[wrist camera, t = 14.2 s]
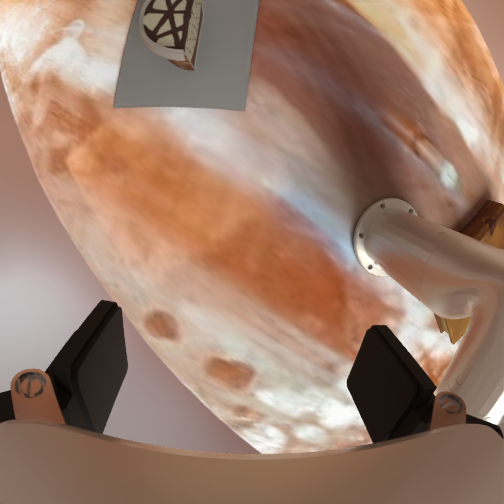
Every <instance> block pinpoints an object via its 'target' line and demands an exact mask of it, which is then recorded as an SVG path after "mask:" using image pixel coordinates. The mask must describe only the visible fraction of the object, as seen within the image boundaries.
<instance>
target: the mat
mask: <svg viewBox="0 0 504 504" xmlns="http://www.w3.org/2000/svg"><path fill="white" fill-rule="evenodd" d="M145 1H146V0H138V2H137V5H136V8H135V12H134V15H133V18H132V22H131V26H130V29H129V33H128V37H127V41H126V45H125V49H124V54H123V58H122V63H121V68H120V73H119V78H118V84H117V90H116V96H115V103H114V108H132V107H193V108H213V109H226V110H238V111H245V107H246V98H247V90H248V82H249V74H250V66H251V58H252V50H253V43H254V35H255V28H256V21H257V14H258V7H259V0H203V9H204V19H203V24H202V30H201V35H200V41H199V47H198V53H197V60H196V66H195V71H193V70H185V69H182V68H179V67H177V66H175V65H174V64H172V63H171V62H170V61H169V60H168V59H167V58H164V57H161V56H159V55H157V54H155V53H154V52H152V51H151V50H150V49H149V48H148V47H147V46H146V45H145V44H144V42H143V40H142V38H141V34H140V30H139V16H140V12H141V9H142V7H143V5H144V3H145Z"/></svg>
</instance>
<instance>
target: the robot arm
mask: <svg viewBox="0 0 504 504" xmlns="http://www.w3.org/2000/svg"><path fill="white" fill-rule="evenodd" d="M380 205H381V206H380ZM359 234H360V235H359ZM353 244H354V252H355V255H356V258H357V260H358V262H359V263H360V265H361V266H362V267H363V268H364V269H365V270H366V271H367V272H369V273H371V274H372V275H375V276H379V277H388V276H390V277H391V278H392V279H394V280H395V281H396V282H397V283H399V284H400V285H401V286H402V287H403V288H405V289H406V290H407V291H408V292H410V293H411V294H412V295H413V296H414V297H416V298H417V299H418V300H419V301H420V302H422V303H423V304H424V305H425V306H426V307H427V308H429V309H430V310H431V311H432V312H434V313H435V314H436V315H438V316H440V317H442V318H446V319H461V318H466V317H469V316H471V319H470V322H469V325H468V327H467V329H466V332H465V335H464V337H463V339H462V341H461V343H460V345H459V347H458V349H457V351H456V353H455V355H454V357H453V359H452V360H451V362H450V364H449V366H448V368H447V370H446V371H445V373H444V375H443V377H442V379H441V381H440V383H439V385H438V387H436V386H435V384H434V383H433V382H432V381H431V379H430V378H429V377H428V375H427V374H426V373H425V372H424V370H423V369H422V368H421V367H420V365H419V364H418V363H417V362H416V360H415V359H414V358H413V357H412V355H411V354H410V353H409V352H408V351H407V349H406V348H405V347H404V346H403V344H402V343H401V342H400V341H399V340H398V338H397V337H396V336H395V335H394V334H393V332H392V331H391V330H390V329H389V328H388V327H387V326H386V325H373V326H372V327H371V328H370V329H368V330H367V331H366V334H365V337H364V339H363V342H362V344H361V347H360V350H359V352H358V355H357V357H356V360H355V362H354V364H353V367H352V369H351V372H350V374H349V376H348V379H347V387H348V390H349V392H350V394H351V396H352V398H353V400H354V402H355V405H356V407H357V409H358V411H359V413H360V415H361V418H362V420H363V422H364V424H365V426H366V428H367V431H368V433H369V435H370V437H371V439H372V442H373V444H368V445H362V446H356V447H350V448H343V449H335V450H327V451H317V452H306V453H290V454H228V453H213V452H201V451H190V450H183V449H175V448H169V447H162V446H156V445H151V444H145V443H140V442H135V441H129V440H125V439H121V438H116V437H112V436H108V435H104V434H103V431H104V428H105V426H106V423H107V420H108V418H109V415H110V413H111V410H112V407H113V404H114V402H115V400H116V397H117V395H118V392H119V390H120V387H121V385H122V382H123V380H124V378H125V375H126V373H127V369H128V361H127V355H126V346H125V337H124V328H123V317H122V309H121V307H118V305H117V303H116V302H111V301H105V300H101V301H100V302H99V303H98V305H97V306H96V307H95V308H94V310H93V311H92V312H91V313H90V315H89V316H88V317H87V318H86V320H85V321H84V322H83V323H82V325H81V326H80V327H79V329H78V330H76V331H75V332H74V333H73V335H72V336H71V337H70V339H69V340H68V341H67V343H66V344H65V345H64V347H63V348H62V349H61V350H60V352H59V353H58V355H57V356H56V357H55V359H54V360H53V361H52V363H51V364H50V366H49V367H48V368H47V370H46V371H45V372H44V371H41V370H39V369H26V370H23V371H21V372H19V373H17V374H16V375H15V376H14V378H13V379H12V382H11V390H9V391H6V392H2V393H0V504H504V250H503V249H500V248H497V247H494V246H491V245H489V244H486V243H484V242H481V241H478V240H476V239H474V238H471V237H469V236H467V235H464V234H461V233H459V232H456V231H454V230H452V229H449V228H447V227H444V226H442V225H439V224H437V223H434V222H432V221H429V220H426V219H424V218H421V217H418V214H417V212H416V211H415V209H414V208H413V207H412V206H411V205H410V204H409V203H407V202H405V201H403V200H401V199H397V198H384V199H381V200H378V201H376V202H375V203H373V204H372V205H371V206H369V207H368V208H367V209H366V210H365V212H364V213H363V214H362V216H361V217H360V219H359V221H358V223H357V226H356V229H355V233H354V242H353ZM436 388H437V390H436ZM435 390H436V394H435V395H434V394H433V393H434V391H435Z"/></svg>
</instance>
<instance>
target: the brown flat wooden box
mask: <svg viewBox="0 0 504 504" xmlns="http://www.w3.org/2000/svg"><path fill="white" fill-rule="evenodd" d="M460 233H461V234H464V235H467V236H469V237H471V238H474V239H476V240H478V241H481V242H484V243H486V244H489V245H491V246H494V247H497V248H500V249H503V250H504V205H503V204H501V203H497V202H494V201H489V202H488V203H487V204H486V205H485V207H484V208H483V209H482V210H481V211H480V212H479V213H478V214H477V215H476V217H475V218H474V219H473V220H472V221H471V222H470V223H469V224H468V225H467V226H466V227H465V228H464V229H463V230H462V231H461V232H460ZM434 315H435V318H436V320H437V323H438V326H439V329H440V332H441V333H442V332H443V331H445V332H447V333H448V334H449V337H450V340H451V343H452V344H455V343H456V342H457V341H458V340H459V339H460V338H461V337H462V336H463V335H464V334H465V332H466V329H467V327H468V325H469V322H470V319H471V316H469V317H466V318H461V319H446V318H442V317H440V316H438V315H436V314H435V313H434Z"/></svg>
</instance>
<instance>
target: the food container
mask: <svg viewBox="0 0 504 504" xmlns="http://www.w3.org/2000/svg"><path fill="white" fill-rule="evenodd" d="M203 19H204V9H203V0H146V1H145V3H144V5H143V7H142V9H141V12H140V16H139V30H140V34H141V38H142V40H143V42H144V44H145V45H146V46H147V47H148V48H149V49H150V50H151V51H152V52H154V53H155V54H157V55H159V56H161V57H164V58H167V59H168V60H169V61H170V62H171V63H172V64H174V65H175V66H177V67H179V68H182V69H185V70H193V71H195V66H196V60H197V53H198V47H199V41H200V35H201V30H202V24H203Z"/></svg>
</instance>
